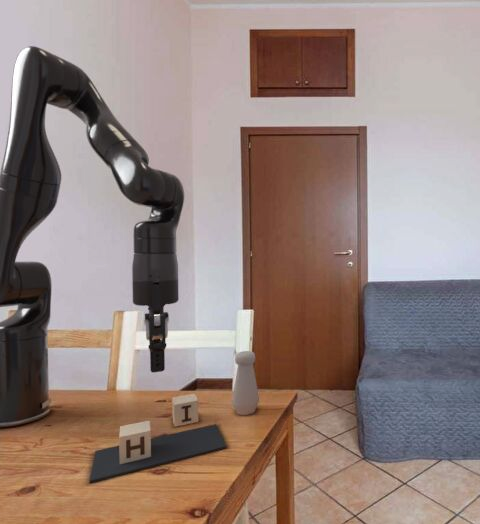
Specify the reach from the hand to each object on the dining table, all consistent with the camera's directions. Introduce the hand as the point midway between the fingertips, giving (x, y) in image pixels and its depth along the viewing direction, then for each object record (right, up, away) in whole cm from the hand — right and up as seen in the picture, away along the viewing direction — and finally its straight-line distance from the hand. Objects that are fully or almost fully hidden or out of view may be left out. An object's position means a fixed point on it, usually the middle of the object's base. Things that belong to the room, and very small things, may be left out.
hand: (157, 365), depth 69 cm
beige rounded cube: (-1, -14, -6) cm, 15 cm away
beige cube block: (+2, -14, +8) cm, 16 cm away
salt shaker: (+13, -14, +13) cm, 23 cm away
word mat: (+3, -14, -4) cm, 15 cm away
